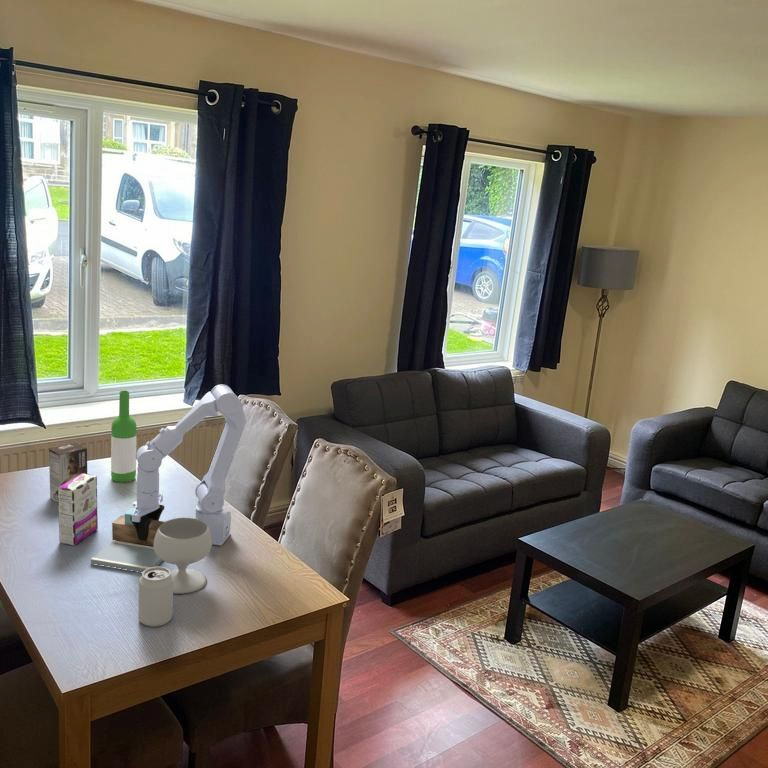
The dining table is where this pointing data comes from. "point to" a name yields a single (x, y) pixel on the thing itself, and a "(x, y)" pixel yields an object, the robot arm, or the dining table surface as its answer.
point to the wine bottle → (123, 443)
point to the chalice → (183, 551)
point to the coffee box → (66, 465)
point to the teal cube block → (128, 515)
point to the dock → (127, 556)
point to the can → (155, 596)
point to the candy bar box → (77, 509)
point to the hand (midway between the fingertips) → (147, 535)
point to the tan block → (133, 531)
